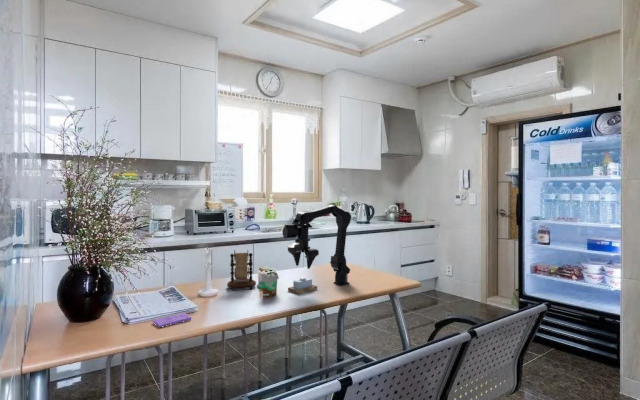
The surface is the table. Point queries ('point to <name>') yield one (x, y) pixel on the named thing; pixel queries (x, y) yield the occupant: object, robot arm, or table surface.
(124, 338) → the table surface
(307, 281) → the key block
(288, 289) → the tan picture frame
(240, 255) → the scroll
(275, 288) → the food container
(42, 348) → the table surface
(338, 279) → the robot arm
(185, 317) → the purple flat block
